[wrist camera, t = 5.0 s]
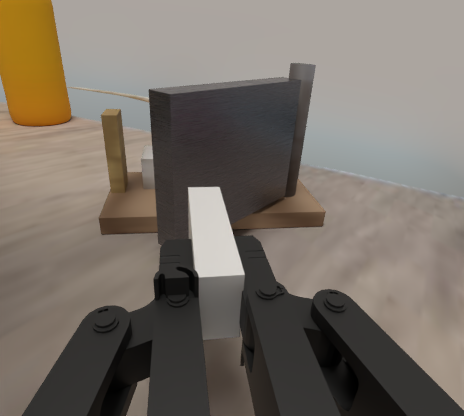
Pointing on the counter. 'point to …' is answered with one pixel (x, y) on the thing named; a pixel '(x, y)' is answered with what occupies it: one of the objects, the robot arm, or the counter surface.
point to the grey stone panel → (221, 146)
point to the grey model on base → (143, 185)
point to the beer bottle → (32, 63)
